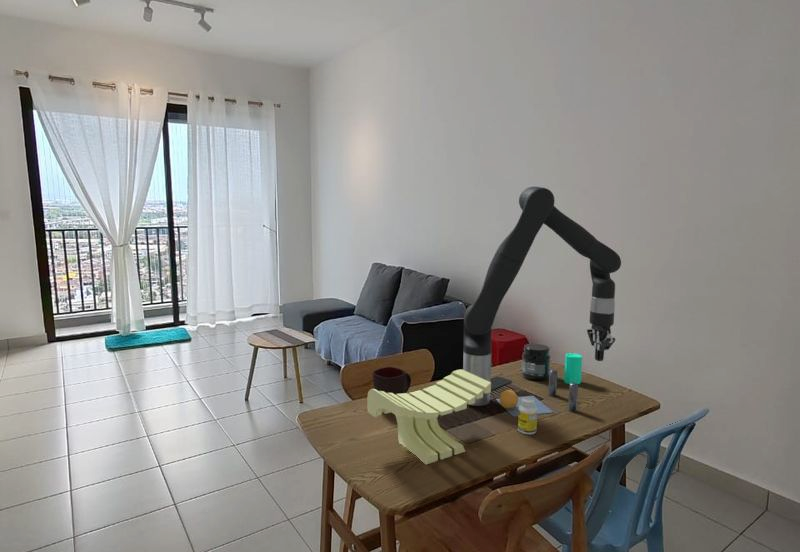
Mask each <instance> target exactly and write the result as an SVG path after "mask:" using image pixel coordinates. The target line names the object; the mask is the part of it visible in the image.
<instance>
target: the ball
mask: <svg viewBox="0 0 800 552" xmlns="http://www.w3.org/2000/svg"><path fill="white" fill-rule="evenodd" d="M518 397H519V396H518V394H516V392H515V391H513V390H512V389H506V390H504V391H502V392H501V393H500V396H499V398H498V399H499V400H500V403H501V404H500V403H499V404H500V406H501V407H503V408H504V409H505V408H507V409H512V408H514V407H515V406H516V405H517V404H518Z"/></svg>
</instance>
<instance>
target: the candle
mask: <svg viewBox="0 0 800 552" xmlns="http://www.w3.org/2000/svg"><path fill="white" fill-rule="evenodd" d="M564 357H565V359H564V376H563V377H564V379H563V382H564V383H565V384H568V385H570V383H572V382H574V383H577V384H579V385H581V384H582V368H583V355H582V354H581V355H580V354H579V353H572V352H568V353H566V354H565V356H564ZM580 383H581V384H580Z"/></svg>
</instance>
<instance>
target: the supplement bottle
mask: <svg viewBox="0 0 800 552" xmlns="http://www.w3.org/2000/svg"><path fill="white" fill-rule="evenodd" d="M522 397H523V398H521V405H520V406H519V410H518V416H517V418H518V419H517V431H519V432H520V433H521V434H524V435H534V434H536V433H537V428H538V426H537V425H538V414H537V407H536V406H535V399H534V398H532V397H524V396H522Z"/></svg>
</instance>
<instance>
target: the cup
mask: <svg viewBox="0 0 800 552" xmlns="http://www.w3.org/2000/svg"><path fill="white" fill-rule="evenodd" d="M372 383H373V389H376V390H377V391H384V392H385V393H393V394H395V395H396V394H402V393H407V394H408V391H409V389H410V387H411V383H412V378H411V375H410V374H409V373H408V372H406V370H403V369H402V368H398V367H394V366H386V367H382V368H377V369H375V370H374V371H372Z"/></svg>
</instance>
